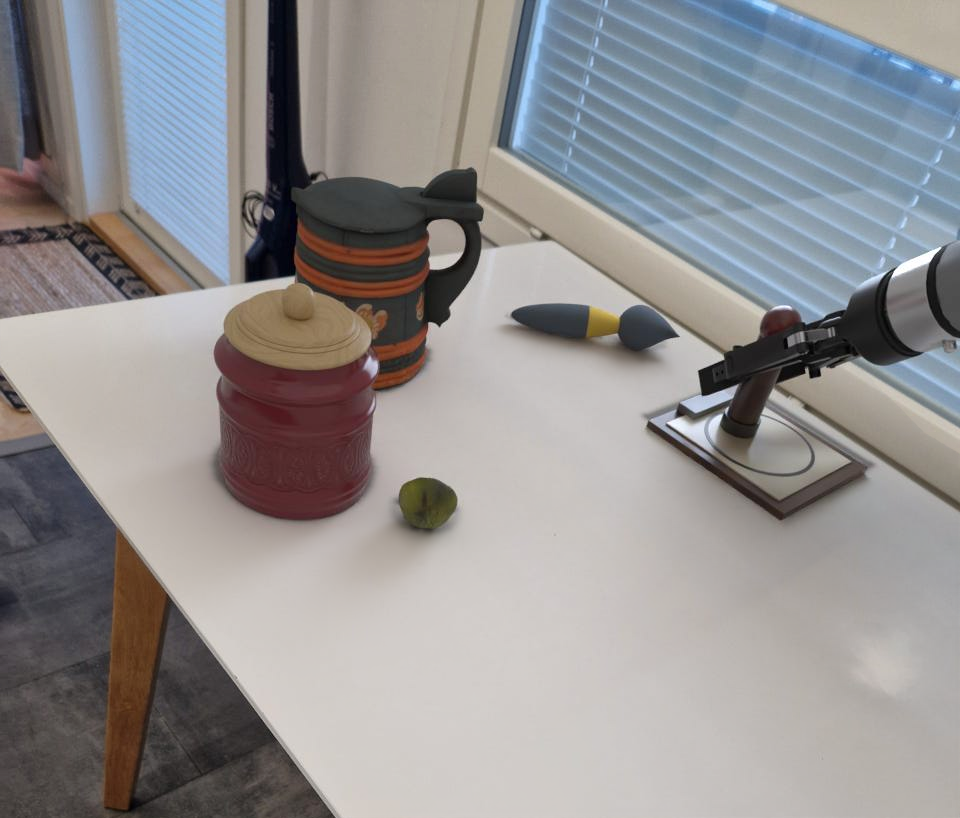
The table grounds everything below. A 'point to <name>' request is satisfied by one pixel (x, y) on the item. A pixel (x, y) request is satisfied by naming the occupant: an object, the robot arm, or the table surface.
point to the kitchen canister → (295, 403)
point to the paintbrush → (598, 323)
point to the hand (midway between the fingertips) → (730, 380)
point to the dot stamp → (757, 381)
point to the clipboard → (759, 454)
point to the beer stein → (387, 257)
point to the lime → (427, 502)
